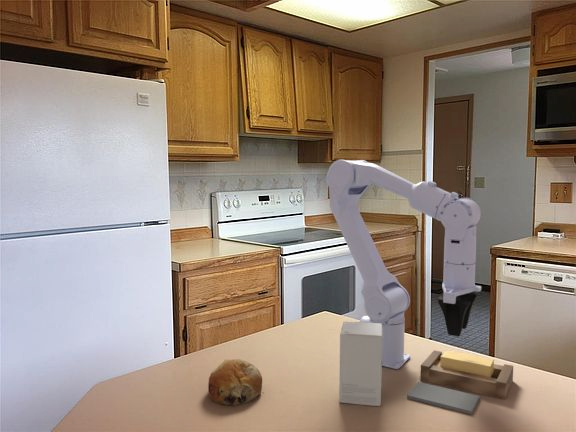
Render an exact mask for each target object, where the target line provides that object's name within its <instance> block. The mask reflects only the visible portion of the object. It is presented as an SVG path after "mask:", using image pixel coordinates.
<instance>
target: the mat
mask: <svg viewBox="0 0 576 432" xmlns="http://www.w3.org/2000/svg"><path fill="white" fill-rule="evenodd" d="M406 399H408V400H411V401H416V402H420V403H424V404H428V405H433V406H436V407H440V408H444V409H447V410H451V411H454V412H458V413H459V412H460V413H464V414H467V415H470V416H471V415H473V412H474V411H475V409H476V407H477V405H478V403H479V402H480V395H477V394H473V393H468V392H464V391H460V390H455V389H450V388H446V387H442V386H439V385H434V384H429V383H425V382H421V381H418V382H417V383H416V384H415V385H414V387H412V388H411V390H410V391H409V392H408V394H406Z"/></svg>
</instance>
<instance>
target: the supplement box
mask: <svg viewBox="0 0 576 432" xmlns="http://www.w3.org/2000/svg"><path fill="white" fill-rule="evenodd" d="M382 373H383V366H382V323H367V322H360V321H343V322H342V325H341V329H340V333H339V385H338V386H339V389H338V390H339V391H338V392H339V393H338V394H339V398H338V402H339V403H342V404H353V405H362V406H373V407H374V406H375V407H380V406H381V403H382V402H381V400H382V380H383V379H382V376H383V375H382Z"/></svg>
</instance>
